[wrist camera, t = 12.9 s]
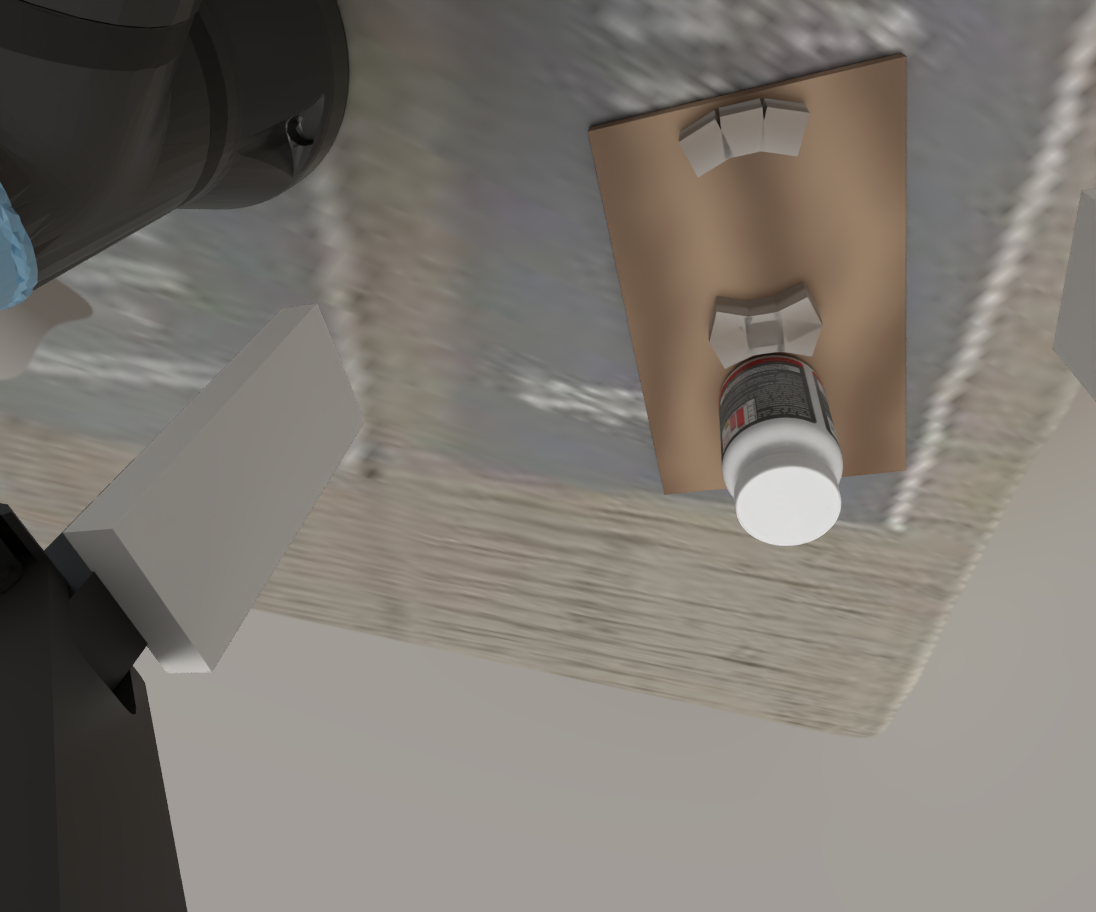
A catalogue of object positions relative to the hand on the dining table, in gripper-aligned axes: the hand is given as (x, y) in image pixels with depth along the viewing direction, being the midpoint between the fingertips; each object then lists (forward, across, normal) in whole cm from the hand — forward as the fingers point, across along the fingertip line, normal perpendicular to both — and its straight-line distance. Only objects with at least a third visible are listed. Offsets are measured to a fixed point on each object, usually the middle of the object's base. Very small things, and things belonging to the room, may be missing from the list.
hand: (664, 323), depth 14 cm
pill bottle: (+25, +3, -17) cm, 31 cm away
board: (+26, +3, -13) cm, 29 cm away
